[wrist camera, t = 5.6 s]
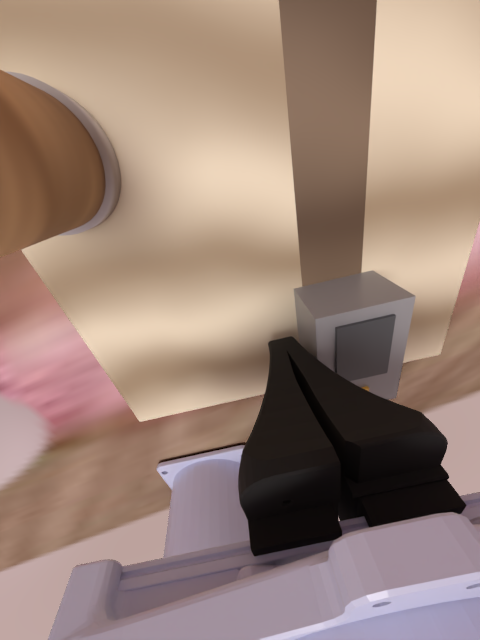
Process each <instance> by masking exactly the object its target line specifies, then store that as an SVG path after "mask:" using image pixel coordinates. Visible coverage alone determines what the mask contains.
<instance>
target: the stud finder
mask: <svg viewBox="0 0 480 640" xmlns="http://www.w3.org/2000/svg"><path fill="white" fill-rule="evenodd" d="M294 297H295V307H296V317H297V327H298V336H299V343H300V344H301V345H302V346H303V347H304V348H305V349H306V350H307V351H308V352H309V353H311V354H312V355H313V356H314V357H315V358H317V359H318V360H319V361H320V362H322V363H323V364H324V365H326V366H327V367H328V368H330V369H331V370H333V371H334V372H335V373H337V374H339V375H340V376H342V377H343V378H345V379H347V380H348V381H350V382H352V383H353V384H355V385H357V386H359V387H361V388H363V389H365V390H367V391H369V392H371V393H373V394H375V395H377V396H380V397H382V398H384V399H387V400H388V399H393V398H396V396H397V391H398V385H399V380H400V375H401V370H402V365H403V360H404V354H405V349H406V344H407V339H408V334H409V329H410V323H411V318H412V313H413V308H414V303H415V298H416V296H415V295H413V294H411V293H410V292H408V291H406V290H405V289H403V288H401V287H400V286H398V285H396V284H395V283H393V282H391V281H390V280H388V279H386V278H385V277H383V276H381V275H380V274H378V273H376V272H375V271H373V270H372V271H367V272H363V273H359V274H355V275H350V276H346V277H342V278H337V279H333V280H329V281H325V282H320V283H316V284H312V285H308V286H303V287H299V288H295V289H294Z"/></svg>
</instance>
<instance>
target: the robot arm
mask: <svg viewBox="0 0 480 640" xmlns="http://www.w3.org/2000/svg"><path fill="white" fill-rule="evenodd" d="M268 347H269V352H270V363H269V374H268V381H267V386H266V391H265V395H264V399H263V402H262V406H261V409H260V412H259V415H258V417H257V420H256V422H255V425H254V427H253V430H252V432H251V434H250V437H249V439H248V441H247V443H246V445H239V446H234V447H230V448H225V449H221V450H216V451H212V452H207V453H203V454H198V455H193V456H189V457H184V458H180V459H175V460H171V461H166V462H161V463H159V464H158V465H157V471H158V472H159V474H160V475H161V476H162V478H163V479H164V480H165V482H166V483H167V484H168V486H169V487H170V488H171V490H172V495H171V503H170V511H169V518H168V527H167V534H166V542H165V550H164V558H161V559H156V560H151V561H146V562H142V563H137V564H132V565H127V566H122V565H121V564H120V563H119V562H118V561H116V560H100V561H96V562H91V563H86V564H81V565H77V566H75V567H74V568H73V570H72V573H71V576H70V578H69V581H68V584H67V587H66V590H65V593H64V595H63V598H62V601H61V604H60V607H59V610H58V612H57V615H56V618H55V621H54V624H53V626H52V629H51V632H50V635H49V638H48V640H480V492H477V493H472V494H467V495H463V496H459V495H458V493H457V492H456V491H455V489H454V488H453V487H452V486H451V484H450V483H449V482H448V481H447V479H448V478H449V476H448V474H447V472H446V471H445V470H444V468H443V467H442V466H441V465H440V464H441V462H442V460H443V457H444V455H445V452H446V449H447V444H448V443H447V440H446V438H445V436H444V435H443V434H442V433H441V432H440V431H439V430H438V428H437V427H436V426H435V425H434V424H433V423H432V422H431V421H430V420H429V419H427V418H426V417H425V416H424V415H423V414H422V413H421V412H419V411H416V410H413V409H411V408H408V407H405V406H402V405H399V404H397V403H394V402H391V401H389V400H387V399H384V398H382V397H380V396H377V395H375V394H373V393H371V392H369V391H367V390H365V389H363V388H361V387H359V386H357V385H355V384H353V383H352V382H350V381H348V380H347V379H345V378H343V377H342V376H340V375H339V374H337V373H335V372H334V371H333V370H331V369H330V368H328V367H327V366H326V365H324V364H323V363H322V362H320V361H319V360H318V359H317V358H315V357H314V356H313V355H312V354H311V353H309V352H308V351H307V350H306V349H305V348H304V347H303V346H302V345H301V344H300V343H299V342H298V341H297V340H296V339H295V338H294V337H292V336H289V337H285V338H281V339H276V340H272V341H269V342H268ZM338 516H339V519H340V521H338Z"/></svg>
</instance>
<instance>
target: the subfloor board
mask: <svg viewBox="0 0 480 640" xmlns="http://www.w3.org/2000/svg"><path fill="white" fill-rule="evenodd" d="M0 70H2V71H4V72H15V73H21V74H24V75H27V76H30V77H33V78H35V79H38V80H40V81H42V82H44V83H46V84H48V85H50V86H51V87H53V88H55V89H57V90H59V91H61V92H62V93H64V94H66V95H67V96H69V97H71V98H72V99H74V100H75V101H76V102H78V103H79V104H80V105H81V106H83V107H84V108H85V109H86V110H87V111H88V112H89V113H90V114H91V115H92V116H93V117H94V118H95V120H96V121H97V122H98V123H99V124H100V126H101V127H102V129H103V130H104V131H105V133H106V135H107V137H108V138H109V140H110V142H111V144H112V146H113V148H114V150H115V153H116V156H117V159H118V163H119V167H120V173H121V192H120V197H119V200H118V203H117V206H116V208H115V210H114V211H113V213H112V214H111V215H110V216H109V217H108V218H107V219H106V220H105V221H104V222H103V223H101V224H99V225H97V226H95V227H93V228H91V229H89V230H86V231H84V232H81V233H78V234H74V235H62V236H61V235H57V236H54V237H52V238H49V239H47V240H44V241H42V242H39V243H36V244H34V245H31V246H29V247H26V248H24V249H21V250H22V252H23V253H24V255H25V256H26V258H27V259H28V261H29V262H30V264H31V265H32V266H33V268H34V269H35V271H36V272H37V274H38V275H39V277H40V278H41V279H42V281H43V282H44V284H45V285H46V287H47V288H48V290H49V291H50V292H51V294H52V295H53V297H54V298H55V300H56V301H57V303H58V304H59V305H60V307H61V308H62V310H63V311H64V313H65V314H66V316H67V317H68V319H69V320H70V321H71V323H72V324H73V326H74V327H75V329H76V330H77V332H78V333H79V334H80V336H81V337H82V339H83V340H84V342H85V343H86V345H87V346H88V347H89V349H90V350H91V352H92V353H93V355H94V356H95V358H96V359H97V361H98V362H99V363H100V365H101V366H102V368H103V369H104V371H105V372H106V374H107V375H108V376H109V378H110V379H111V381H112V382H113V384H114V385H115V387H116V388H117V389H118V391H119V392H120V394H121V395H122V397H123V398H124V400H125V401H126V403H127V404H128V405H129V407H130V408H131V410H132V411H133V413H134V414H135V416H136V417H137V418H138V420H139V421H140V422H142V421H146V420H151V419H155V418H159V417H164V416H168V415H173V414H177V413H182V412H186V411H191V410H195V409H200V408H204V407H209V406H213V405H217V404H222V403H226V402H231V401H235V400H240V399H244V398H249V397H253V396H258V395H262V394H265V391H266V386H267V381H268V374H269V363H270V352H269V347H268V342H269V341H272V340H276V339H281V338H285V337H289V336H292V337H294V338H295V339H296V340H297V341H298V342H299V336H298V327H297V317H296V307H295V297H294V289H295V288H299V287H303V286H308V285H312V284H316V283H320V282H325V281H329V280H333V279H337V278H342V277H346V276H350V275H355V274H359V273H363V272H367V271H372V270H373V271H375V272H376V273H378V274H380V275H381V276H383V277H385V278H386V279H388V280H390V281H391V282H393V283H395V284H396V285H398V286H400V287H401V288H403V289H405V290H406V291H408V292H410V293H411V294H413V295H415V296H416V298H415V303H414V308H413V313H412V318H411V323H410V329H409V334H408V339H407V344H406V349H405V354H404V360H403V363H405V362H409V361H414V360H418V359H423V358H427V357H432V356H436V355H440V354H441V350H442V347H443V344H444V340H445V337H446V333H447V330H448V327H449V323H450V320H451V316H452V313H453V310H454V306H455V303H456V299H457V296H458V293H459V289H460V286H461V282H462V279H463V276H464V272H465V269H466V265H467V262H468V259H469V255H470V252H471V248H472V245H473V242H474V238H475V235H476V231H477V228H478V225H479V221H480V0H0Z"/></svg>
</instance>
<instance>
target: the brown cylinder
mask: <svg viewBox="0 0 480 640" xmlns="http://www.w3.org/2000/svg"><path fill="white" fill-rule="evenodd" d="M120 192H121V173H120V167H119V163H118V159H117V156H116V153H115V150H114V148H113V146H112V144H111V142H110V140H109V138H108V137H107V135H106V133H105V131H104V130H103V129H102V127H101V126H100V124H99V123H98V122H97V121H96V120H95V118H94V117H93V116H92V115H91V114H90V113H89V112H88V111H87V110H86V109H85V108H84V107H83V106H81V105H80V104H79V103H78V102H76V101H75V100H74V99H72V98H71V97H69V96H67V95H66V94H64V93H62V92H61V91H59V90H57V89H55V88H53V87H51V86H50V85H48V84H46V83H44V82H42V81H40V80H38V79H35V78H33V77H30V76H27V75H24V74H21V73H15V72H4V71H2V70H0V258H1V257H3V256H6V255H8V254H11V253H13V252H16V251H19V250H21V249H24V248H26V247H29V246H31V245H34V244H36V243H39V242H42V241H44V240H47V239H49V238H52V237H54V236H57V235H61V236H62V235H74V234H78V233H81V232H84V231H86V230H89V229H91V228H93V227H95V226H97V225H99V224H101V223H103V222H104V221H105V220H106V219H107V218H108V217H109V216H110V215H111V214H112V213H113V211H114V210H115V208H116V206H117V203H118V200H119V197H120Z"/></svg>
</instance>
